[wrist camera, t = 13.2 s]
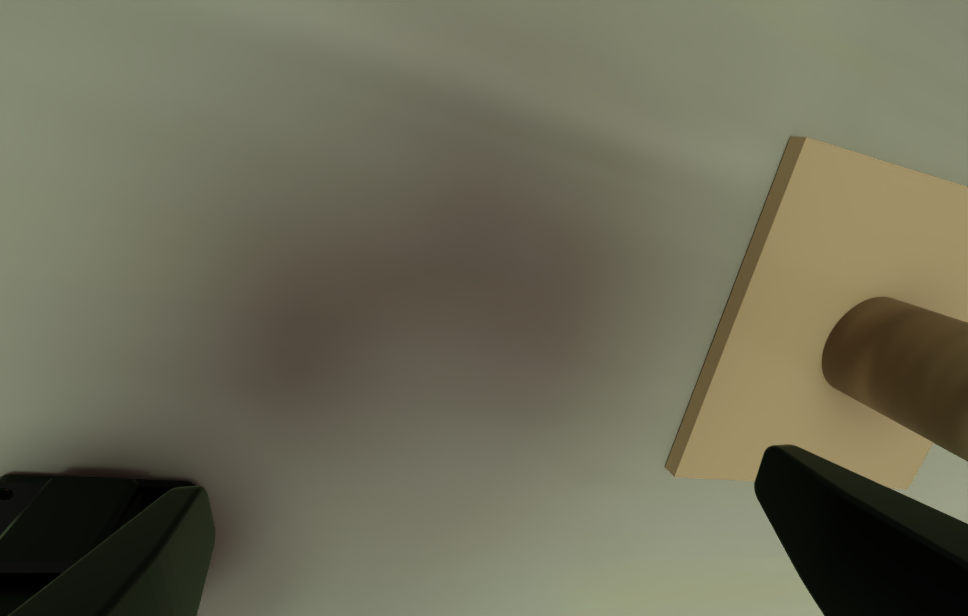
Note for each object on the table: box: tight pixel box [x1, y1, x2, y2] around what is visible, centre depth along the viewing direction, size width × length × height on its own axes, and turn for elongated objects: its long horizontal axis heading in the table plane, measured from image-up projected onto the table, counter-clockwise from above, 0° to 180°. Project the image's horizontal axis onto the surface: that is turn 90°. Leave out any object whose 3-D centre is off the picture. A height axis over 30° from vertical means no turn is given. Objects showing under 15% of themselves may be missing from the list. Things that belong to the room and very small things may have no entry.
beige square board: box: [665, 137, 968, 489], centre depth 25 cm, size 16×16×1 cm
